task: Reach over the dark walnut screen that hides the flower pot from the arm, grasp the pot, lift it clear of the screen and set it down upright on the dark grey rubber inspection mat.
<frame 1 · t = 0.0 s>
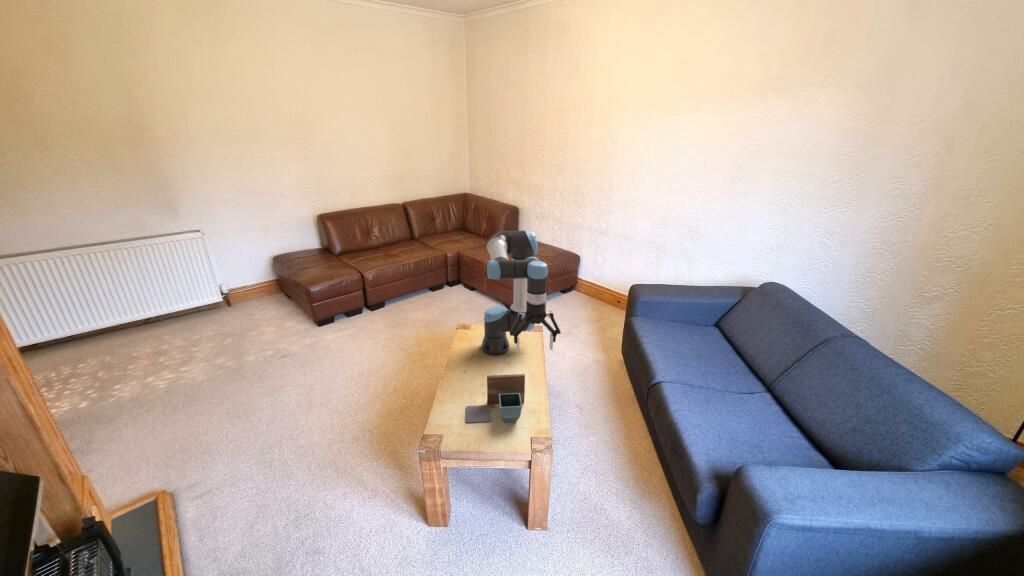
hand: (534, 349, 160), 28 cm above the table, fingers open, 13 cm apart
flower pot: (510, 418, 164), on the table
screen: (505, 402, 172), on the table
mat: (478, 414, 165), on the table
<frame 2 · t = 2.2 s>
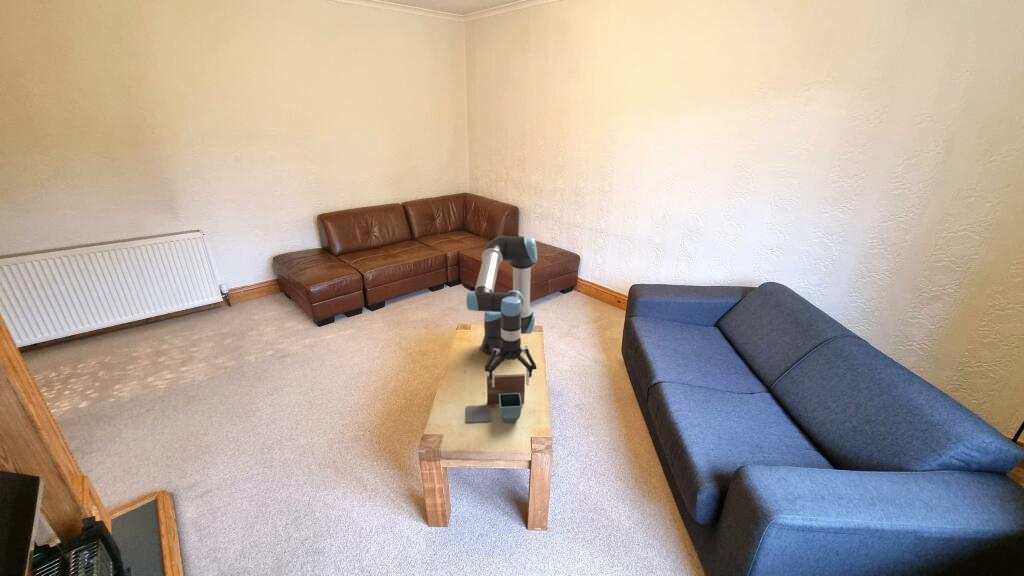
hand: (510, 384, 157), 17 cm above the table, fingers open, 13 cm apart
nothing on the table moved.
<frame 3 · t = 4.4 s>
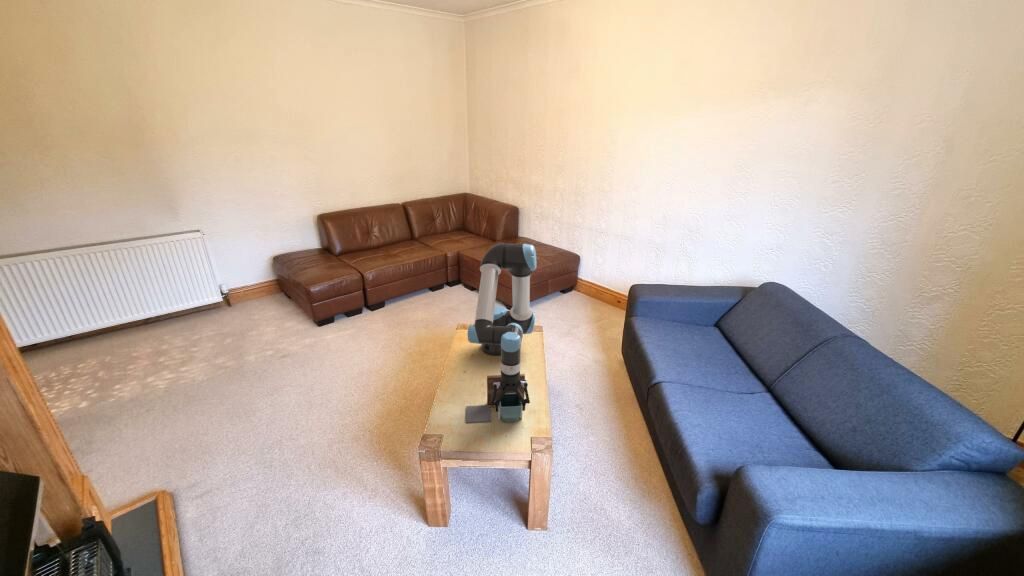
hand: (510, 416, 164), 0 cm above the table, fingers closed on flower pot, 8 cm apart
flower pot: (509, 418, 164), on the table, touching gripper
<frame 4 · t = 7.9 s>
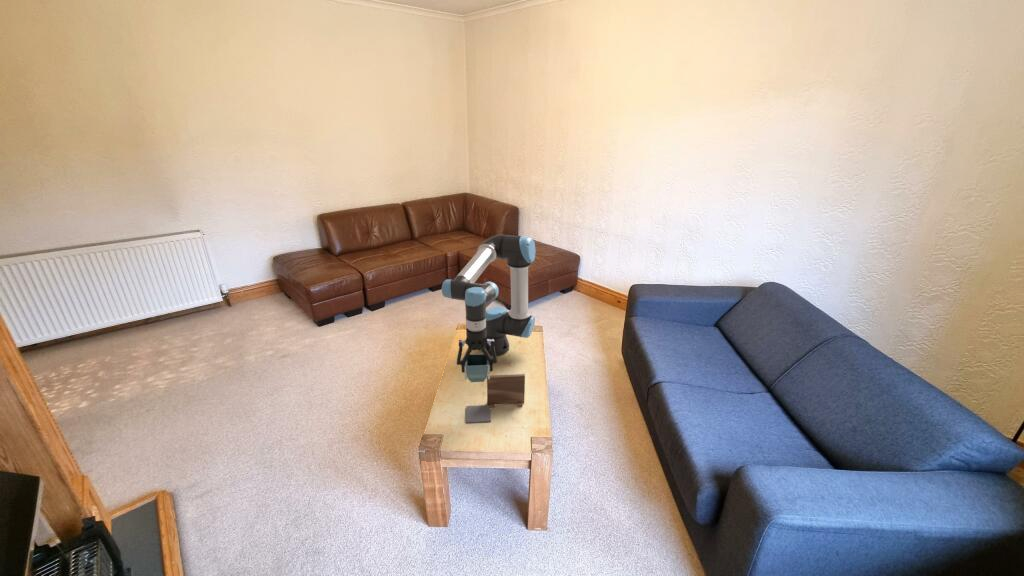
hand: (477, 377, 158), 18 cm above the table, fingers closed on flower pot, 8 cm apart
flower pot: (477, 379, 159), point 18 cm above the table, touching gripper
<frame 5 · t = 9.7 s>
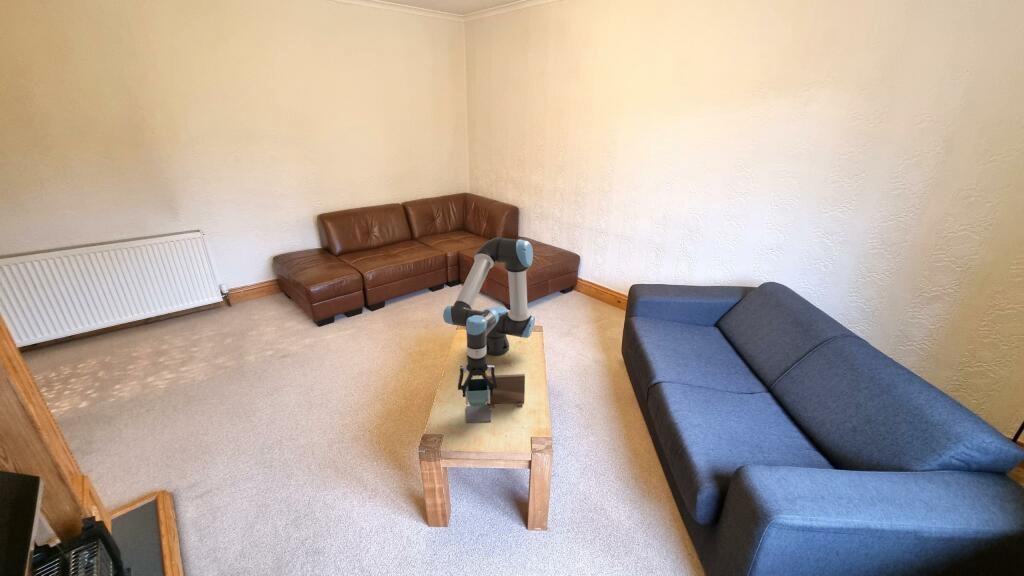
hand: (477, 401, 163), 6 cm above the table, fingers closed on flower pot, 8 cm apart
flower pot: (477, 403, 163), point 6 cm above the table, touching gripper
when the fingers open (2 cm above the table, at t = 11.5 s): flower pot drops 1 cm, resting on mat.
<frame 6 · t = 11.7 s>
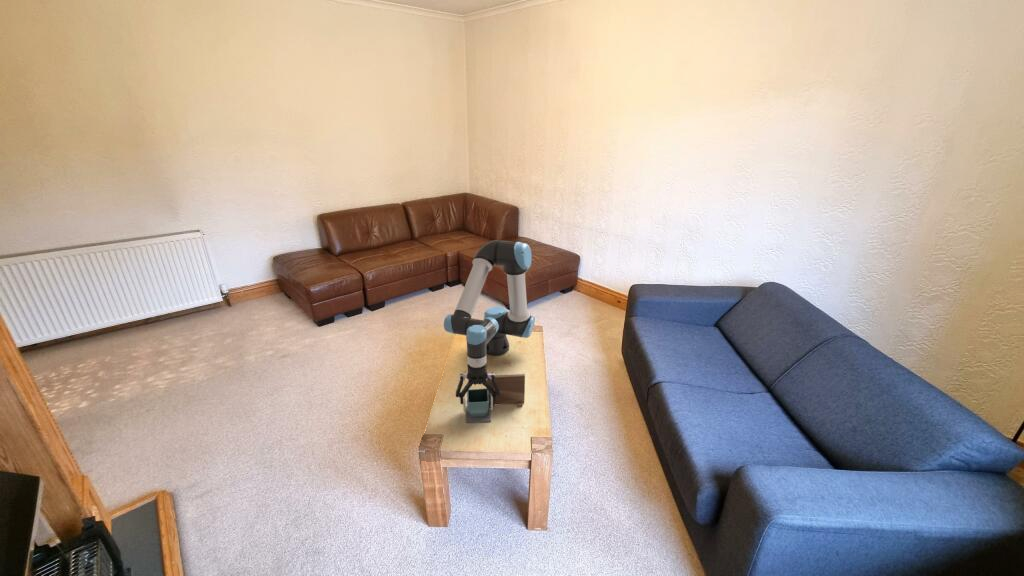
hand: (478, 408, 164), 3 cm above the table, fingers open, 11 cm apart
flower pot: (478, 413, 165), resting on mat
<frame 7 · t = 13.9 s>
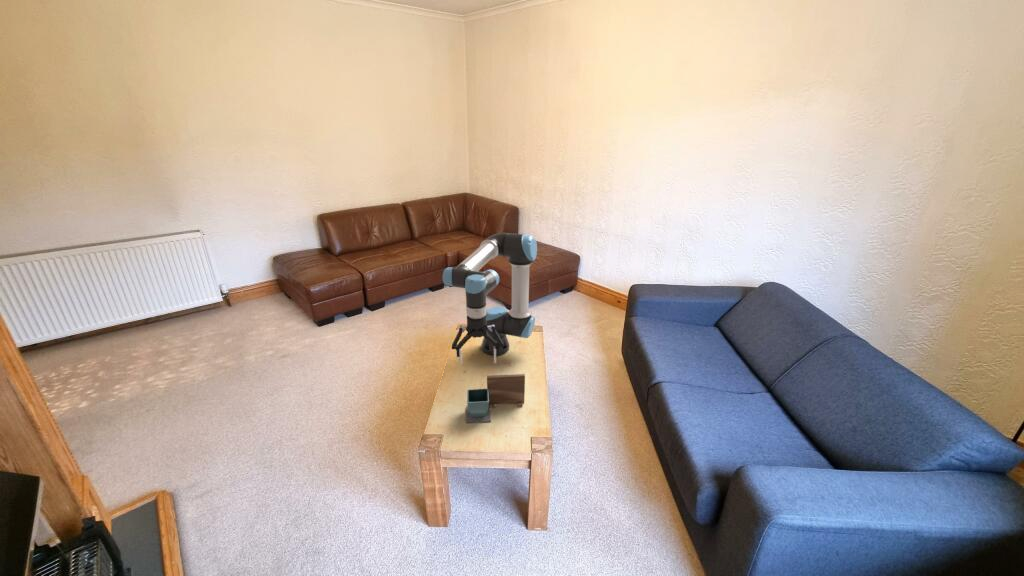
hand: (478, 362, 159), 24 cm above the table, fingers open, 13 cm apart
nothing on the table moved.
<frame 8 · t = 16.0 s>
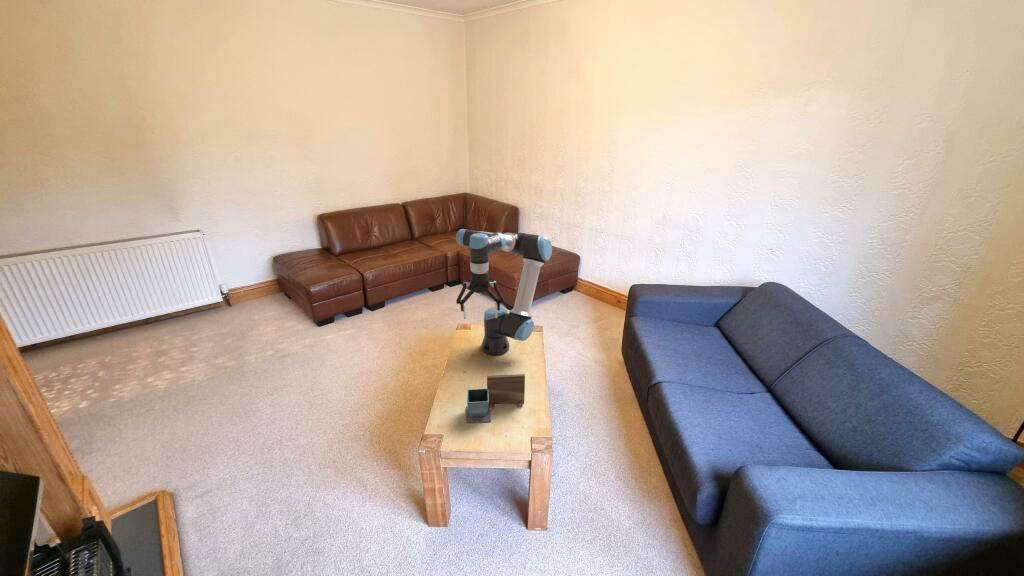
hand: (480, 317, 172), 35 cm above the table, fingers open, 13 cm apart
nothing on the table moved.
at the end: flower pot inside the target area on the mat (0.2 cm from its centre), point 0.4 cm above the mat's base; flower pot tilted 0°; the gripper is holding nothing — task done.
